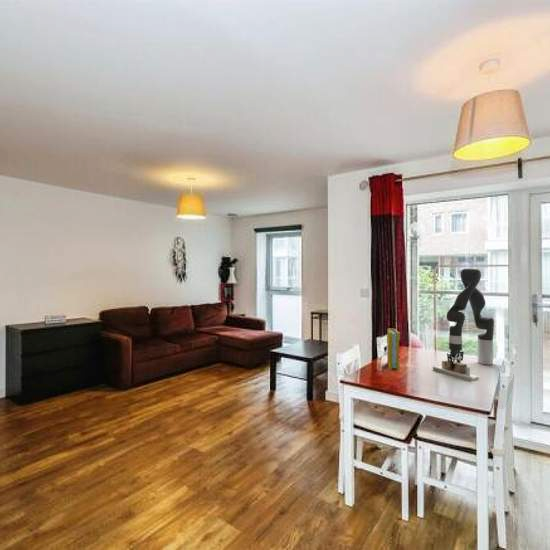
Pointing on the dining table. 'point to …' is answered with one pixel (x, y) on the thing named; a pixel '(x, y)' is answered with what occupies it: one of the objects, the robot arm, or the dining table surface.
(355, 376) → the dining table surface
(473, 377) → the board
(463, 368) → the frame
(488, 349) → the robot arm
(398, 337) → the book
